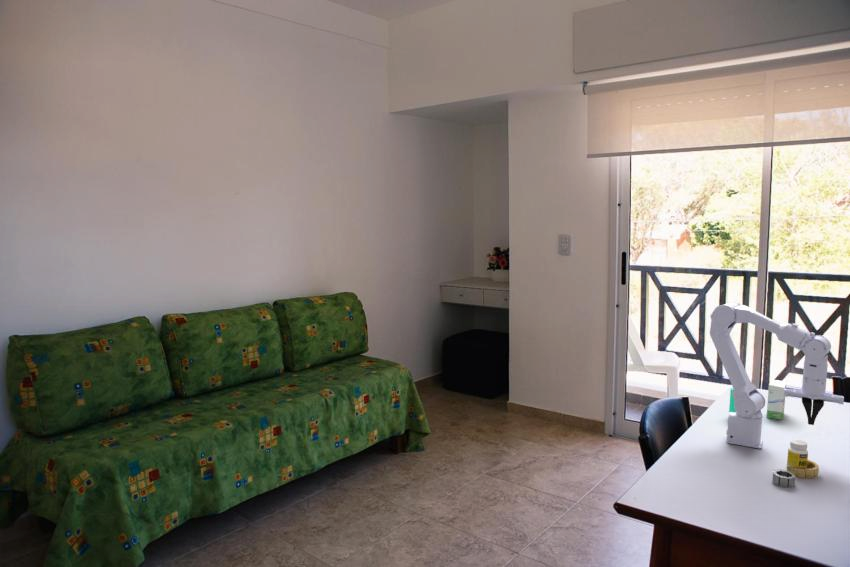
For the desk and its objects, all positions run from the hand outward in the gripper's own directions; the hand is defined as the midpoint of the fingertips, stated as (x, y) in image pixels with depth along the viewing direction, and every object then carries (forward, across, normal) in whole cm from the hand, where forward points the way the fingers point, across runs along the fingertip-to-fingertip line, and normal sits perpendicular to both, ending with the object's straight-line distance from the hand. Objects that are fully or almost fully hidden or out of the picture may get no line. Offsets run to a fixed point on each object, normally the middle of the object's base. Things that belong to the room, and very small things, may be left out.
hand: (810, 423), depth 176 cm
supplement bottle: (+11, -3, -12) cm, 16 cm away
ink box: (+11, -9, +36) cm, 39 cm away
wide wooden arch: (+10, -2, -12) cm, 16 cm away
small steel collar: (+10, -6, -22) cm, 25 cm away
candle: (+11, -20, +26) cm, 34 cm away
